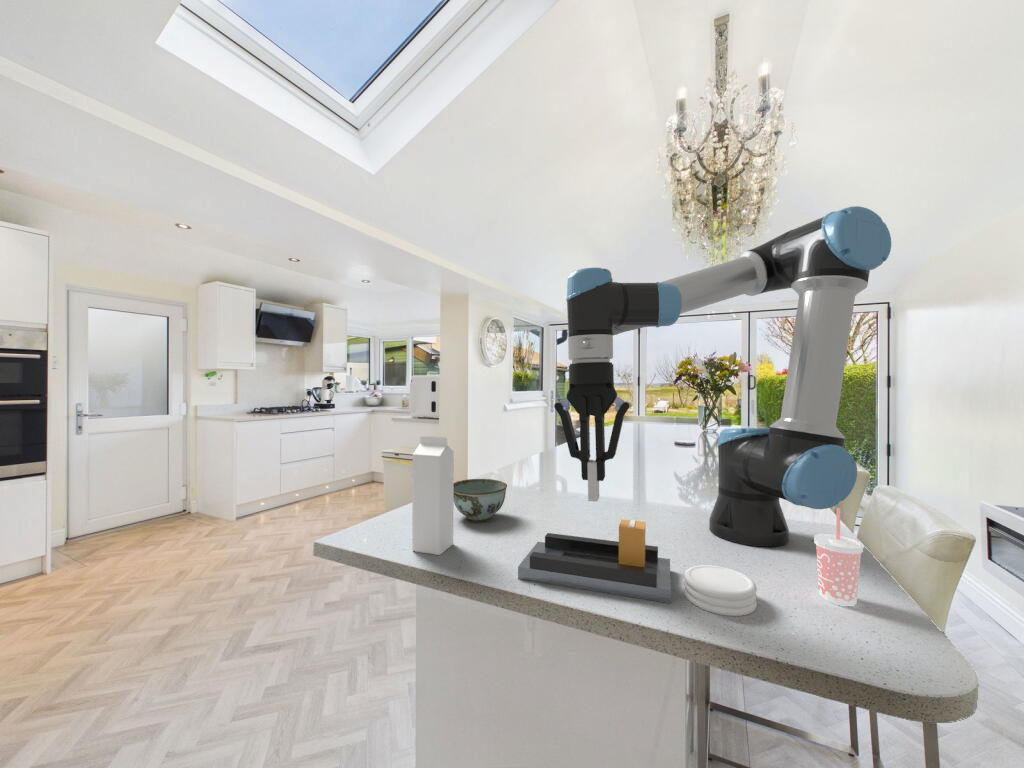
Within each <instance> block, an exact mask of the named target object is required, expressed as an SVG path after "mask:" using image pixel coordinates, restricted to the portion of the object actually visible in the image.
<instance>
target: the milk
mask: <svg viewBox="0 0 1024 768" xmlns="http://www.w3.org/2000/svg"><path fill="white" fill-rule="evenodd" d="M454 454H455V453H454V450H453V449H452V448H451V447H450V446H449V445H448V437H446V436H431V435H421V436H420V437H419V444H418V446H417V447H416V449H414V452H413V453H412V476H411V477H412V479H411V481H412V486H411V487H412V494H411V495H412V506H411V507H412V517H411V518H412V520H411V521H412V525H411V526H412V528H411V529H412V532H411V534H412V536H411V537H412V546H411V548H412V549H411V550H412V552H414V551H415V552H416V553H422V554H429V555H436V556H441V555H442V554H443V553H444V552H446V551H447V550H448V549H449V548H450V547H452V546H453V545H454V502H453V500H454V483H455V481H454V471H455V470H454V469H455V468H454V466H455V465H454V463H455V462H454V461H455V460H454V456H455V455H454Z"/></svg>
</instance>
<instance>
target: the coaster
mask: <svg viewBox="0 0 1024 768" xmlns="http://www.w3.org/2000/svg"><path fill="white" fill-rule="evenodd" d="M683 579H684V582H683V587H684V588H683V594H684V596H685V598H686V599H687V600H688V601H689V602H690V603H691V604H692V603H693V604H692V605H694V606H695V607H697V606H698V608H699V609H701V610H703V611H705V612H710V613H713V614H716V615H719V616H727V617H728V616H729V617H742V616H743V615H744V616H747V615H750V614H752V613H754V612H755V611H756V608H757V607H758V606H757V605H758V603H757V597H758V596H757V592H758V588H757V585H756V583H755V582H754V580H752V579H751V578H750V577H749V576H747V575H746V574H744V573H742V572H740V571H737V570H734V569H732V568H728V567H723V566H718V565H712V564H711V565H709V564H703V565H702V564H701V565H700V564H699V565H695V566H691V567H690V568H688V569H686V570H685V572H684V575H683Z"/></svg>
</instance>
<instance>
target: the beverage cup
mask: <svg viewBox="0 0 1024 768" xmlns="http://www.w3.org/2000/svg"><path fill="white" fill-rule="evenodd" d="M835 516H836V520H835V521H836V524H835V525H836V527H835V530H836V531H835V534H831V533H817V534H815V535H813V542H814V543H813V544H815V545H816V548H815V549H816V562H817V566H816V567H817V580H818V581H817V582H818V595H819V594H820V595H821V596H822V597H823V598H825V599H826V600H829V601H832V602H835V603H838V604H841V605H854V604H855V603H856V604H857V600H858V590H859V582H860V580H859V578H860V572H861V571H860V568H861V561H862V560H861V557H862V553H864V547H865V546H864V543H862V542H861V541H859V540H856V539H853V538H851V537H847V536H843V535H841V507H836V515H835Z"/></svg>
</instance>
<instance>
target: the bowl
mask: <svg viewBox="0 0 1024 768" xmlns="http://www.w3.org/2000/svg"><path fill="white" fill-rule="evenodd" d="M507 487H508V484H507V483H506V482H505V481H501V480H497V479H491V478H470V479H462V480H458V481H454V500H453V505H454V506H455V508H456V509H457V511H459V513H460V514H462V515H463V516H465V518H466V520H467V519H468V520H467V521H469V522H472V521H474V522H475V523H483V522H489V521H490V520H492V518H493V516H494V515H495V514H496V513H497V512H498V511H500V509H502V506H503V505H504V503H505V499H506V494H507V493H506V492H507ZM474 522H473V523H474Z"/></svg>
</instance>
